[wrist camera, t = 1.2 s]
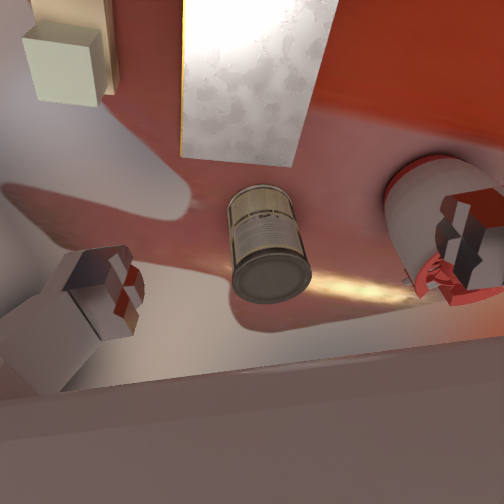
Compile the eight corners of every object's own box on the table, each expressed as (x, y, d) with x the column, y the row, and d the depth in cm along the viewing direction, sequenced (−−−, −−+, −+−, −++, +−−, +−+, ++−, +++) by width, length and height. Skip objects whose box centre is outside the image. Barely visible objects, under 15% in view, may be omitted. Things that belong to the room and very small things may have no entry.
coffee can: (304, 213, 56) (326, 282, 46) (252, 243, 59) (262, 313, 50) (268, 170, 49) (285, 241, 40) (212, 207, 53) (215, 280, 43)
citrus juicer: (344, 217, 57) (388, 323, 43) (421, 123, 46) (513, 225, 32) (413, 240, 63) (472, 339, 49) (497, 161, 52) (602, 262, 38)
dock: (189, -208, 25) (187, -216, 23) (370, -157, 28) (383, -160, 26) (181, 144, 45) (180, 157, 43) (287, 155, 48) (291, 167, 46)
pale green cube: (41, 20, 31) (21, 37, 28) (101, 29, 32) (88, 47, 29) (54, 78, 35) (38, 100, 31) (108, 85, 35) (98, 107, 32)
